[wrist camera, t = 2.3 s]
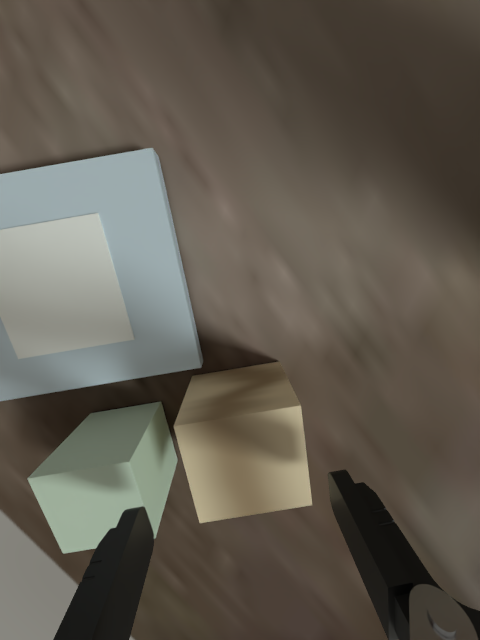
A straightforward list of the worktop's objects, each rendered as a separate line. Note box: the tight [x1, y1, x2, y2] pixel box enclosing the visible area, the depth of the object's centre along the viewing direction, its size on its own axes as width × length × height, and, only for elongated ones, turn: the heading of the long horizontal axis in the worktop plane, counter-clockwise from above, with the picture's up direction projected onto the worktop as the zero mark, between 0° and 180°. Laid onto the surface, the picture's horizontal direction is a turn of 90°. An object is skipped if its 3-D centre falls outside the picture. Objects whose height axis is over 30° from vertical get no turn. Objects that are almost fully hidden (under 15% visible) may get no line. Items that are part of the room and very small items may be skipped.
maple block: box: [174, 362, 312, 523], centre depth 14 cm, size 6×6×5 cm
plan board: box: [0, 148, 203, 401], centre depth 13 cm, size 14×12×1 cm
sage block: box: [27, 402, 178, 553], centre depth 14 cm, size 5×5×5 cm
